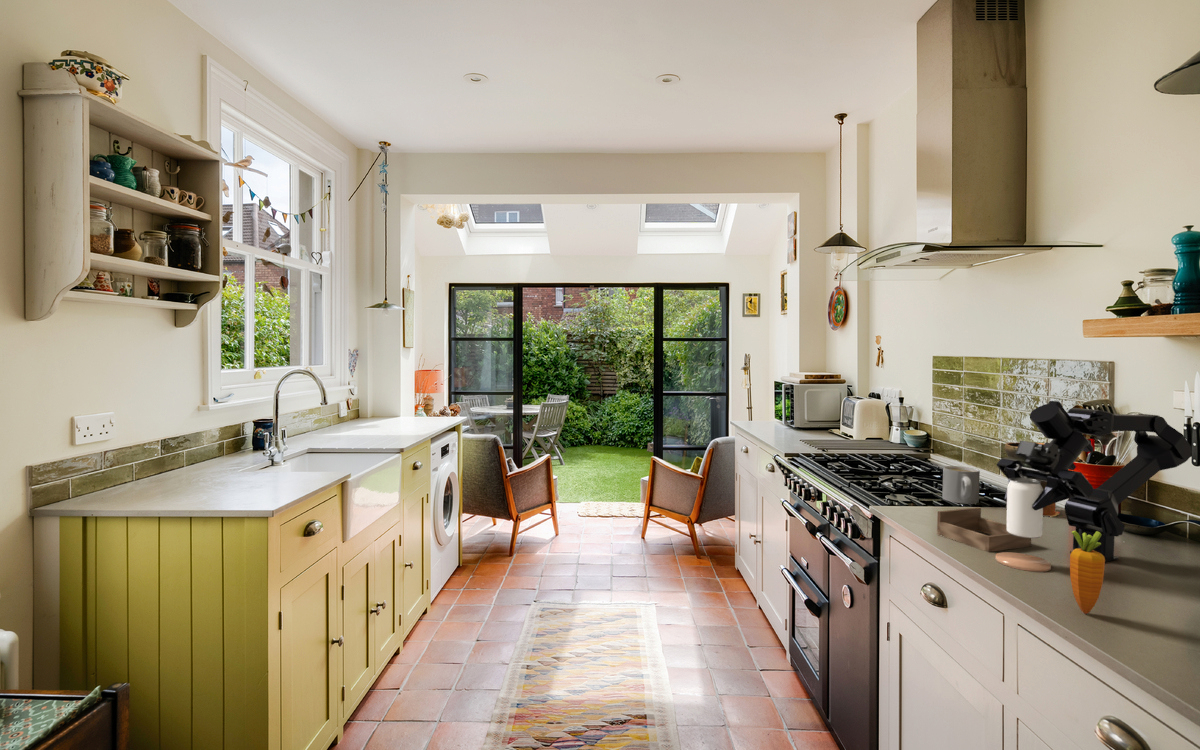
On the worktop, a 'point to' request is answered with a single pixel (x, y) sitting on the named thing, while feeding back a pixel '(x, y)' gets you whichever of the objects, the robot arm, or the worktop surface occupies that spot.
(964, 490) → the coffee mug
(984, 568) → the worktop surface
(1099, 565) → the carrot
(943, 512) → the open wooden tray
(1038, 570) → the saucer
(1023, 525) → the can
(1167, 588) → the worktop surface
